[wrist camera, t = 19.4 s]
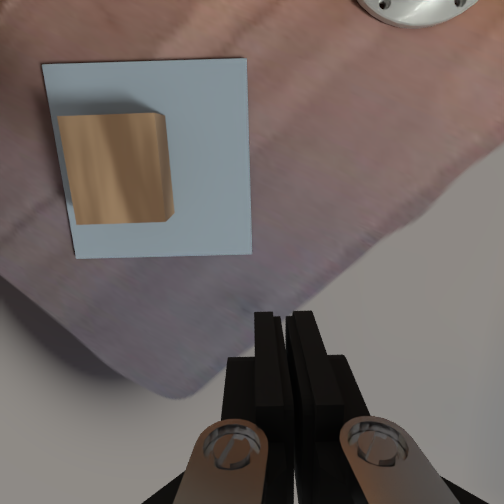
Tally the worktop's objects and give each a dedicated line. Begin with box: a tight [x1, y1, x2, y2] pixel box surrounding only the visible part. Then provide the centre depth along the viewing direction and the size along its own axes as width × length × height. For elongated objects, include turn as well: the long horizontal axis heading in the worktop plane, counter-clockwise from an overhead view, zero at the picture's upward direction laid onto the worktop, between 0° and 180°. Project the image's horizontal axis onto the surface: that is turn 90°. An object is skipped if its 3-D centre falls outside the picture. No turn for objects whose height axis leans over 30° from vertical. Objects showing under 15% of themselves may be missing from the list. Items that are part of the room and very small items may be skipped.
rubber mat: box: [42, 58, 252, 259], centre depth 31 cm, size 16×16×1 cm
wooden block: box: [57, 113, 175, 225], centre depth 29 cm, size 4×8×7 cm
